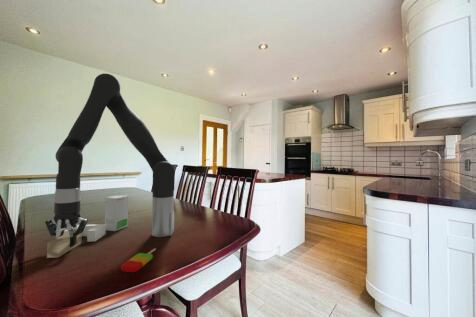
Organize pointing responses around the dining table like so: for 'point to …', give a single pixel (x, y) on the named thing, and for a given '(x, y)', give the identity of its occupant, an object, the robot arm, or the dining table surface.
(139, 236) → the dining table surface
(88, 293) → the dining table surface
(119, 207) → the skincare box
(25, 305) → the dining table surface
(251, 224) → the dining table surface
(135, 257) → the popsicle
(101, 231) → the end cap
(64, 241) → the beige wooden block
